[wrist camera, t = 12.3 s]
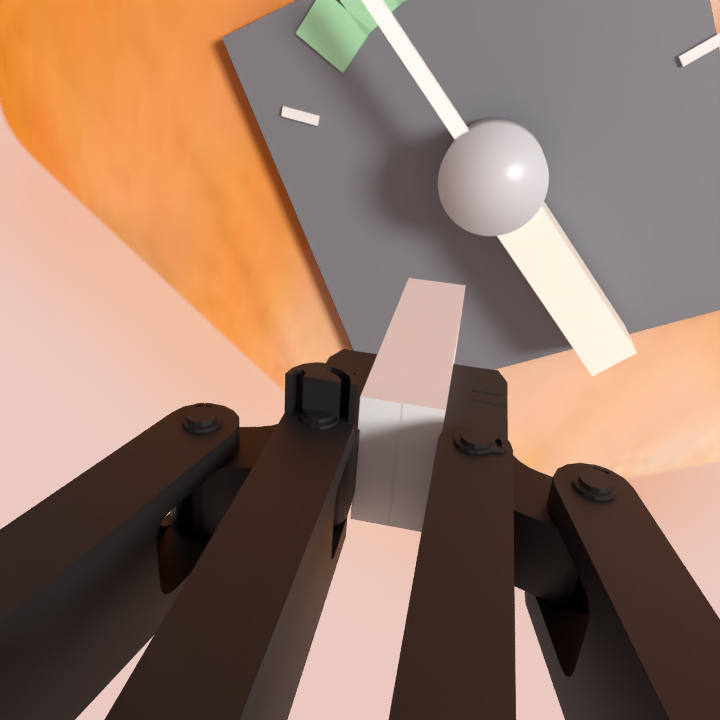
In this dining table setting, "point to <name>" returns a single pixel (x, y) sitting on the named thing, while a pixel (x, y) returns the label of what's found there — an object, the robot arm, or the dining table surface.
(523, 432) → the dining table surface
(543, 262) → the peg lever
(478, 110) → the dial board
